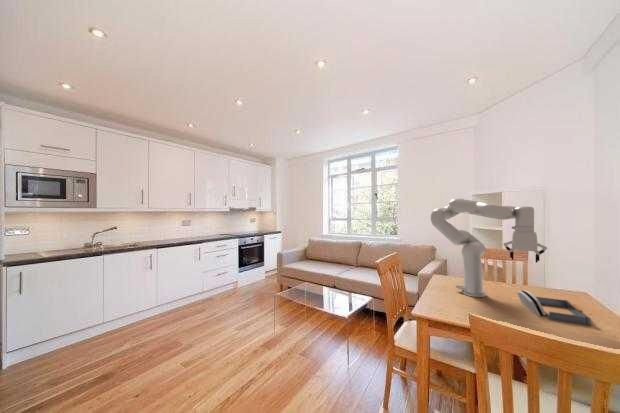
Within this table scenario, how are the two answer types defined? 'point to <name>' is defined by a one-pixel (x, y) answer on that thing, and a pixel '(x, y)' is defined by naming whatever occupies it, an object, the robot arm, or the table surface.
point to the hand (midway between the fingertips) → (524, 260)
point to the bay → (576, 318)
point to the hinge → (531, 302)
